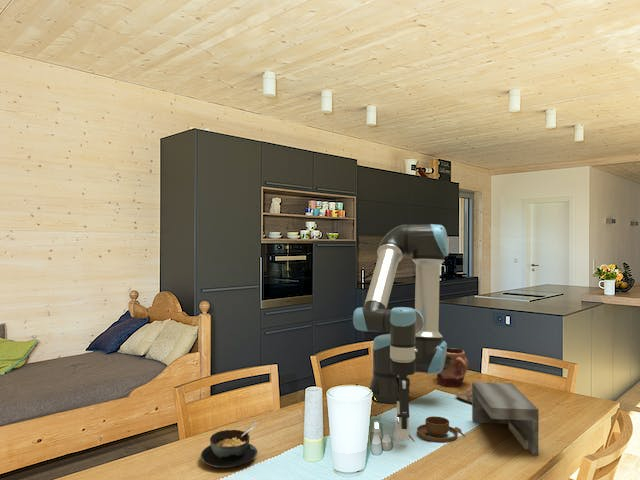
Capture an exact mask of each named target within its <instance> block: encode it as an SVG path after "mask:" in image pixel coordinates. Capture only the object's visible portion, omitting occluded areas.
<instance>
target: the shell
mask: <svg viewBox="0 0 640 480" xmlns="http://www.w3.org/2000/svg"><path fill="white" fill-rule="evenodd" d="M455 397H456V398H458V399H459V400H460V401H462V402H464V403H467V404H470V405H472V388H467V389H466V390H465V391H464V392H462V393H456V394H455Z"/></svg>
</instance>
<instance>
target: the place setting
mask: <svg viewBox="0 0 640 480" xmlns="http://www.w3.org/2000/svg"><path fill="white" fill-rule="evenodd" d="M416 432H417V435H418V436H419V437H420V438H421V439H423V440H425V441H428V442H436V443H447V442H452V441H454V440H456V439H457V438H458V434H459V433H460V434H461V435H462V436H463V437H464V438H466V437H467V436H466V435H465V434H464V433H463V432H462V429H461V428H460V427H457V426H455V427H453V426H450V420H449V419H448V418H445V417H443V416H436V415H435V416H434V415H433V416H428V417H426V418H425V423H424V424H420V425H419V426H417V428H416ZM448 432H450V433H451V434H452V435H453V436H450V437H444V436H445V435H446V434H448ZM430 435H431V436H430ZM409 439H410V440H412V441H413V442H414V443H415V442H416V441H415V440H414V438H413V437H412V436H411V434H409Z"/></svg>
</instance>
